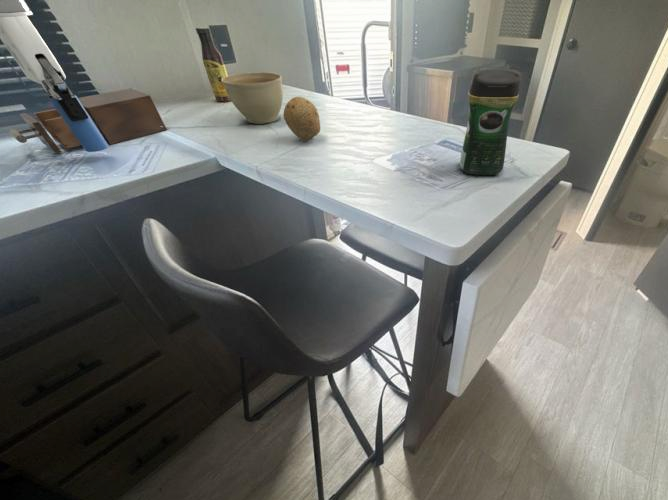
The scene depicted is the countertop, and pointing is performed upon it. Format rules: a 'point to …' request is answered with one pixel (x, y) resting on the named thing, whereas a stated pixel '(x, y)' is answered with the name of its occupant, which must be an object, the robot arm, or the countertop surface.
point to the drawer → (49, 130)
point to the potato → (302, 118)
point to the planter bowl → (256, 95)
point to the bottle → (82, 129)
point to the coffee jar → (489, 120)
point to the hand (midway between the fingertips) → (75, 116)
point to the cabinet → (123, 114)
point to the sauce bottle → (213, 64)
